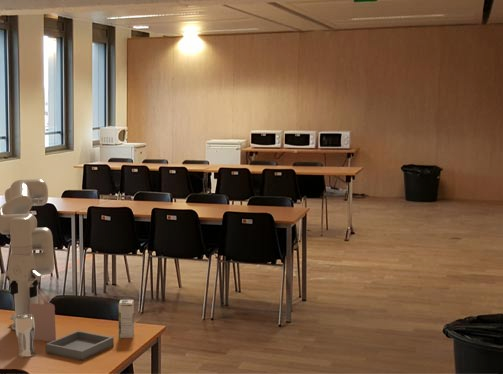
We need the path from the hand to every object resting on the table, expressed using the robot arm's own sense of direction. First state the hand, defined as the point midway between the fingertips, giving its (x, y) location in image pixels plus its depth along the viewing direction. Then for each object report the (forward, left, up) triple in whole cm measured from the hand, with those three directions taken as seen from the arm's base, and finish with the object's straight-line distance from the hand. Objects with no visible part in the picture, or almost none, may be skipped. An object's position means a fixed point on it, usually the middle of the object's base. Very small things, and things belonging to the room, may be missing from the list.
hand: (23, 295), depth 269 cm
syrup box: (+20, +35, -23) cm, 47 cm away
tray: (+14, +14, -23) cm, 31 cm away
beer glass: (0, 0, -23) cm, 23 cm away
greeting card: (-7, +16, -23) cm, 29 cm away
